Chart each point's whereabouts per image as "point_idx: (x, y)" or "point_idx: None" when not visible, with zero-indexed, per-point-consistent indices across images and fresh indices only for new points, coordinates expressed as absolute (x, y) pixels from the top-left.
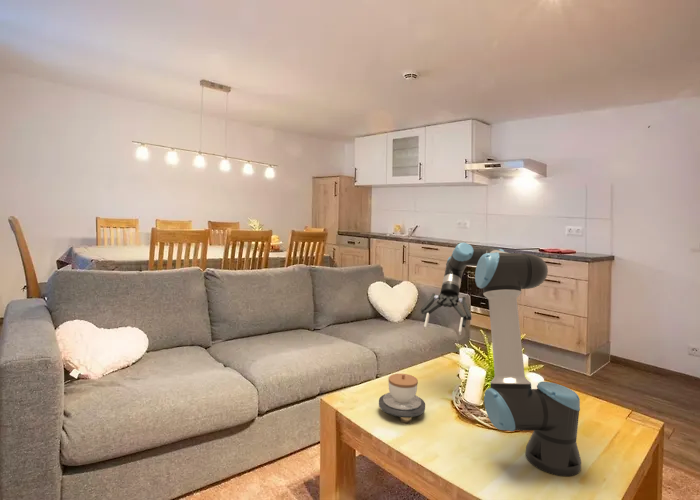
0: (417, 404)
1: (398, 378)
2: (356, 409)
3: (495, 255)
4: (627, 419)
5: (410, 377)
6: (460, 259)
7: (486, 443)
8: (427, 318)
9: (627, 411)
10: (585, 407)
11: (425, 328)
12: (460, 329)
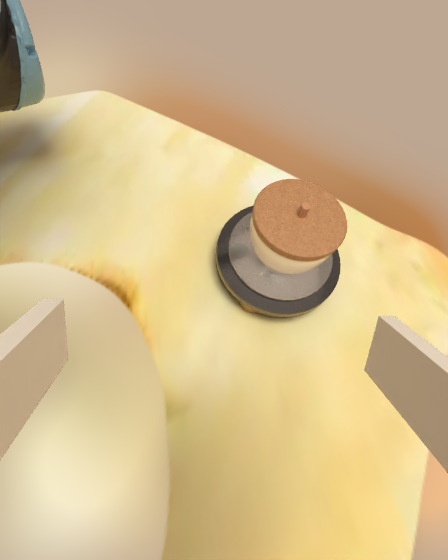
0: (236, 237)
1: (314, 209)
2: (367, 244)
3: None
4: None
5: (284, 230)
6: None
7: (65, 208)
8: (444, 367)
9: None
10: None
11: (377, 348)
12: (36, 307)
